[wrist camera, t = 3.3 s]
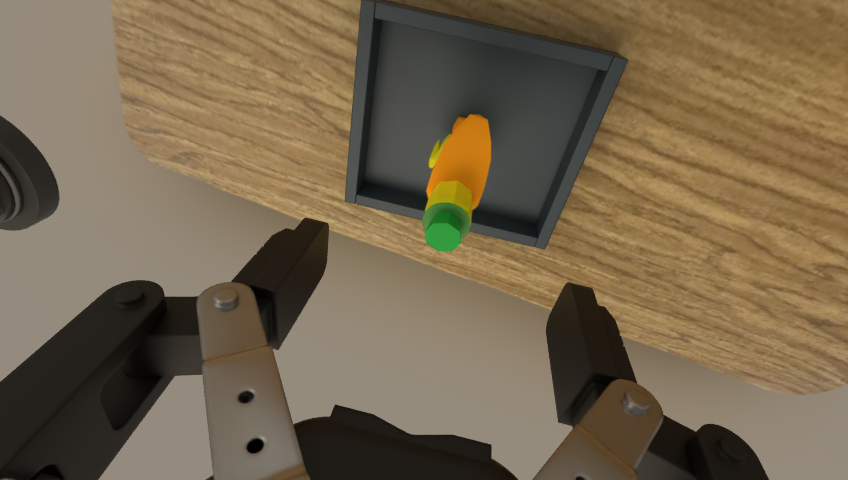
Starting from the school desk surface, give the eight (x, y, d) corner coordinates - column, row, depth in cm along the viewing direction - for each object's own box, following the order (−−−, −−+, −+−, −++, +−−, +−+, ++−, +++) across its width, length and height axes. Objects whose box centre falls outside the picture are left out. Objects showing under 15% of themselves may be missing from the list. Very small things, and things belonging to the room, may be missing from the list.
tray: (354, 187, 30) (344, 201, 28) (372, -4, 23) (361, -2, 21) (541, 232, 30) (545, 250, 28) (617, 52, 23) (629, 59, 21)
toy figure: (456, 70, 24) (429, 130, 14) (512, 88, 24) (523, 159, 14) (428, 169, 28) (391, 270, 18) (476, 183, 28) (466, 292, 18)
